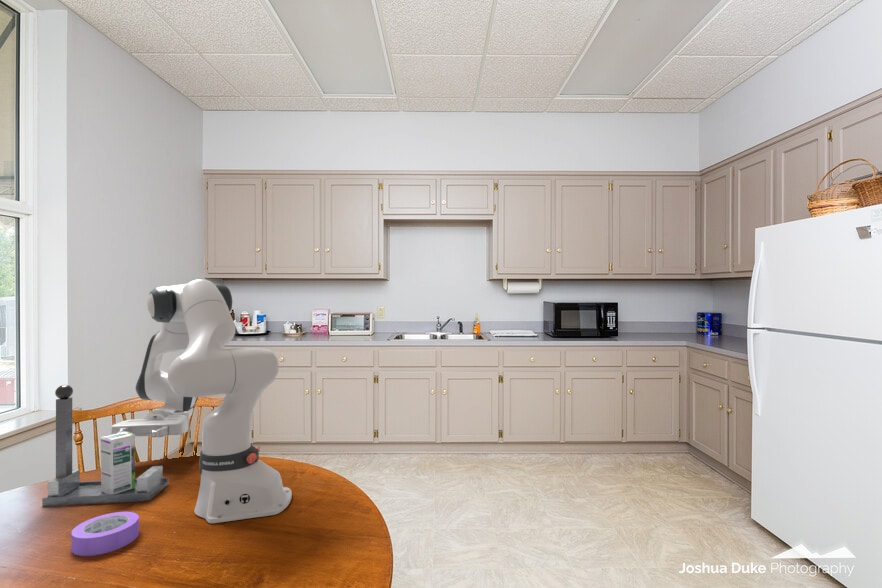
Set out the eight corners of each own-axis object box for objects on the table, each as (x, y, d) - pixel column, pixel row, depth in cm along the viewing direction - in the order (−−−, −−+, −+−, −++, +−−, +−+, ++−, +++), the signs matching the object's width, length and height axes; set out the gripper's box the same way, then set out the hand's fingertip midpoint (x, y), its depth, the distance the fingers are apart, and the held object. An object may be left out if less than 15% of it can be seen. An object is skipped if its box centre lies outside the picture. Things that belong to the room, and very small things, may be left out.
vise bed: (168, 484, 127) (168, 464, 127) (149, 501, 117) (149, 478, 117) (70, 489, 124) (70, 468, 124) (42, 506, 114) (42, 483, 114)
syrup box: (111, 496, 117) (111, 439, 117) (100, 491, 120) (100, 436, 120) (135, 488, 122) (135, 433, 122) (124, 483, 125) (124, 430, 125)
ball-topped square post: (81, 485, 123) (81, 382, 123) (60, 498, 115) (60, 387, 115) (67, 486, 123) (67, 382, 123) (45, 499, 115) (45, 388, 115)
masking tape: (72, 539, 99) (72, 521, 99) (136, 522, 106) (136, 506, 106) (70, 564, 90) (70, 544, 90) (141, 544, 97) (141, 526, 97)
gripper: (125, 413, 145) (98, 425, 131) (193, 411, 147) (173, 423, 134) (125, 433, 145) (98, 447, 131) (193, 430, 147) (173, 444, 134)
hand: (136, 435), depth 133 cm, fingers open, 8 cm apart
